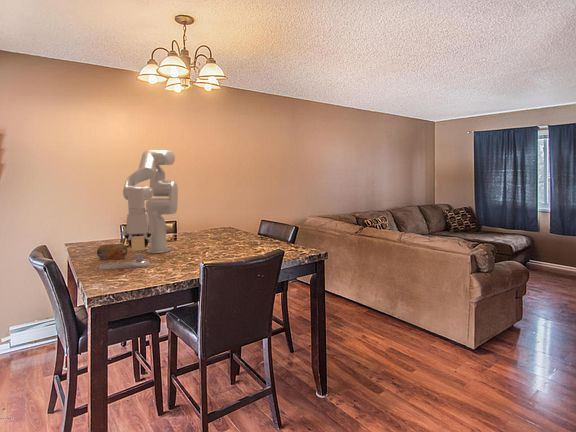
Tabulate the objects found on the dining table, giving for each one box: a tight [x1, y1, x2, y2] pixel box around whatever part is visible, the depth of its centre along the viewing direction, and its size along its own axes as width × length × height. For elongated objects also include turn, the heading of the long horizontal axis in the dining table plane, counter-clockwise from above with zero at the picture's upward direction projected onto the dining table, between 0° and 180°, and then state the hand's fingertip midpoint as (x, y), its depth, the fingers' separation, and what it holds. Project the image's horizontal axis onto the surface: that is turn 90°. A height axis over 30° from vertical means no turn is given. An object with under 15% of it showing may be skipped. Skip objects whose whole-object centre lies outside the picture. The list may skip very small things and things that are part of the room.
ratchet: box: [98, 252, 150, 271], centre depth 181 cm, size 9×22×6 cm, turn 108°
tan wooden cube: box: [131, 235, 147, 252], centre depth 181 cm, size 6×6×6 cm
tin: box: [96, 243, 128, 261], centre depth 197 cm, size 15×3×8 cm, turn 101°
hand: (138, 246), depth 182 cm, fingers closed on tan wooden cube, 6 cm apart
